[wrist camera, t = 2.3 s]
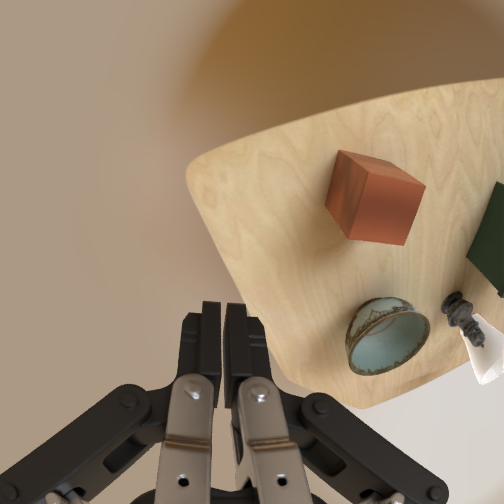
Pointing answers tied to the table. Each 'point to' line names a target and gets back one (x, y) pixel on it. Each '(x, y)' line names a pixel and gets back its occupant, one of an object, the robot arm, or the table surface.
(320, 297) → the table surface
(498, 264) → the box
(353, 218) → the block
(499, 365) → the cup
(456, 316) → the dark grey chess piece
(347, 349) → the bowl
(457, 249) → the table surface
